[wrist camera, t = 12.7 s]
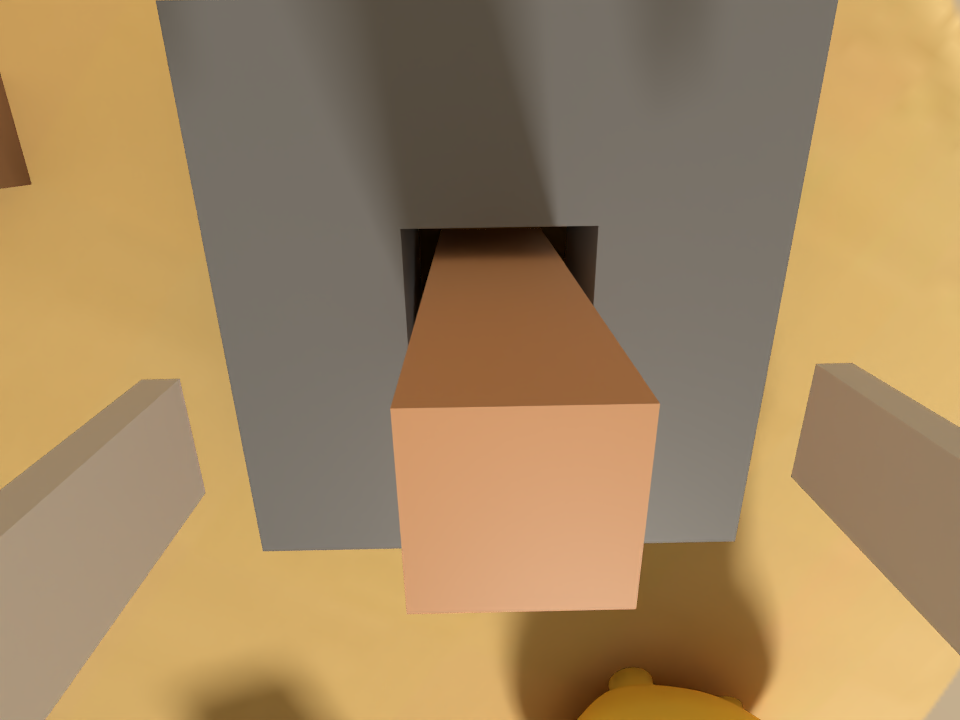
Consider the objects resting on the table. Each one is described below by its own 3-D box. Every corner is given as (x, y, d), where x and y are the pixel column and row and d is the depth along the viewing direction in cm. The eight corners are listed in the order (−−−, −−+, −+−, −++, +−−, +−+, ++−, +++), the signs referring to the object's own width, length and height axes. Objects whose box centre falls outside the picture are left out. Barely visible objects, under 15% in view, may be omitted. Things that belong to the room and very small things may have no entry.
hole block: (305, 464, 27) (262, 551, 22) (240, 34, 21) (155, 0, 15) (681, 457, 28) (735, 541, 22) (740, 27, 21) (839, -8, 15)
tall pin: (445, 322, 25) (407, 614, 10) (441, 229, 23) (390, 408, 8) (537, 321, 25) (636, 609, 10) (540, 227, 23) (660, 403, 9)
